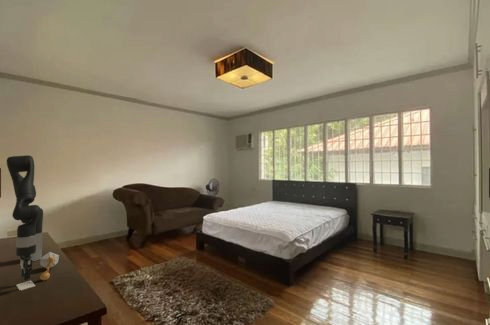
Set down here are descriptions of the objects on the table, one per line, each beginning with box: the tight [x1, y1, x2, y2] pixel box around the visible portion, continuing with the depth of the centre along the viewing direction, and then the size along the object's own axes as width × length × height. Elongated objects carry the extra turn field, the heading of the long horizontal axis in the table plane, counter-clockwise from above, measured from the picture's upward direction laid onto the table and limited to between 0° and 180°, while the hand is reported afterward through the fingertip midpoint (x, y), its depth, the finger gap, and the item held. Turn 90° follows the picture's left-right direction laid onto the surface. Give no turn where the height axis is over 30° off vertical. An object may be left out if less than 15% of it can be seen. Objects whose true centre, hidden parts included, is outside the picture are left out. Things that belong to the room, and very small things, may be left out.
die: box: [39, 251, 60, 270], centre depth 141 cm, size 8×9×10 cm
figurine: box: [39, 256, 55, 281], centre depth 128 cm, size 8×6×12 cm
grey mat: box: [15, 280, 36, 291], centre depth 121 cm, size 9×6×1 cm, turn 52°
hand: (25, 277), depth 121 cm, fingers open, 5 cm apart
